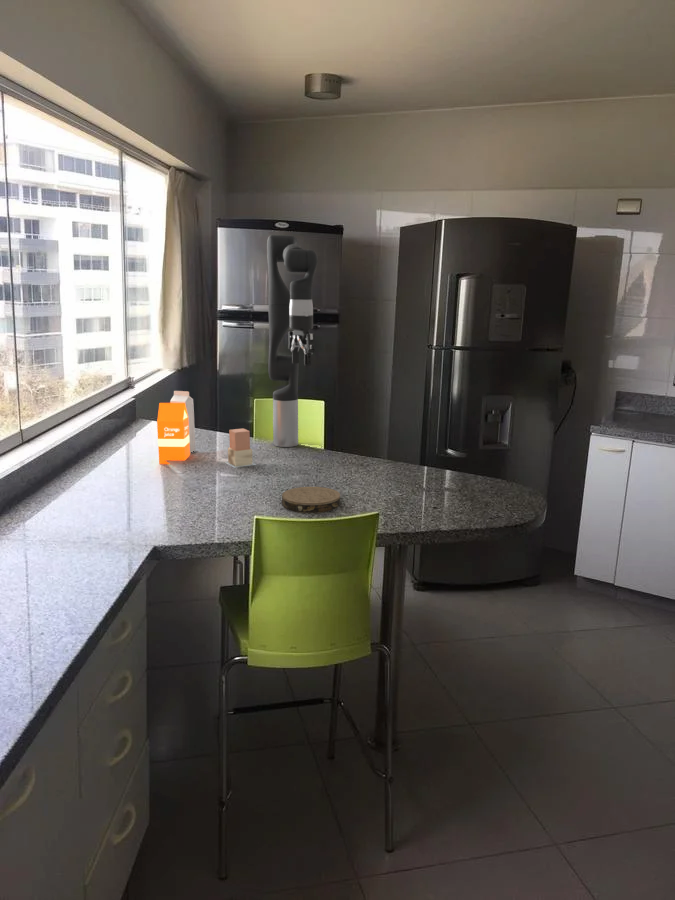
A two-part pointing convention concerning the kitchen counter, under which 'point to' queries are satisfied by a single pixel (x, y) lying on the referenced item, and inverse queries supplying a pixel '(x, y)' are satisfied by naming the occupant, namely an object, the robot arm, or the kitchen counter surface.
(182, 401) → the milk
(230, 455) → the birch block
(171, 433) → the orange juice
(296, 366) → the robot arm
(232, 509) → the kitchen counter surface
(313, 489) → the tambourine
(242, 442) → the terracotta block
